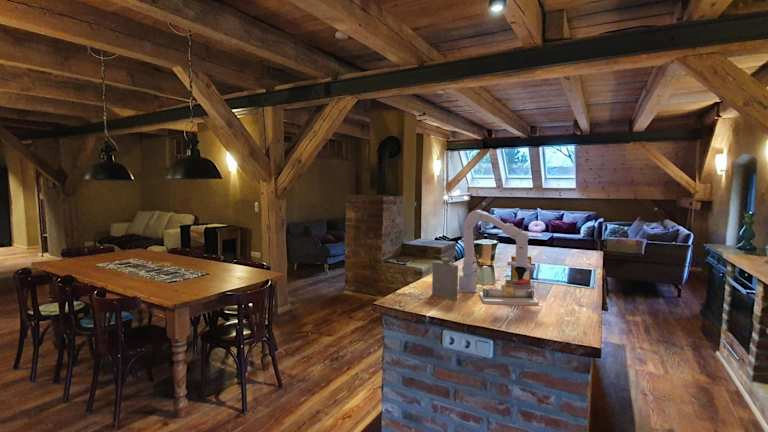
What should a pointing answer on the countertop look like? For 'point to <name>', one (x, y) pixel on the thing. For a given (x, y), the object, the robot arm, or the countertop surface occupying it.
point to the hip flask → (445, 279)
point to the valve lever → (518, 281)
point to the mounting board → (508, 300)
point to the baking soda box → (527, 273)
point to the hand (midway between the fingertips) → (520, 281)
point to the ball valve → (508, 292)
